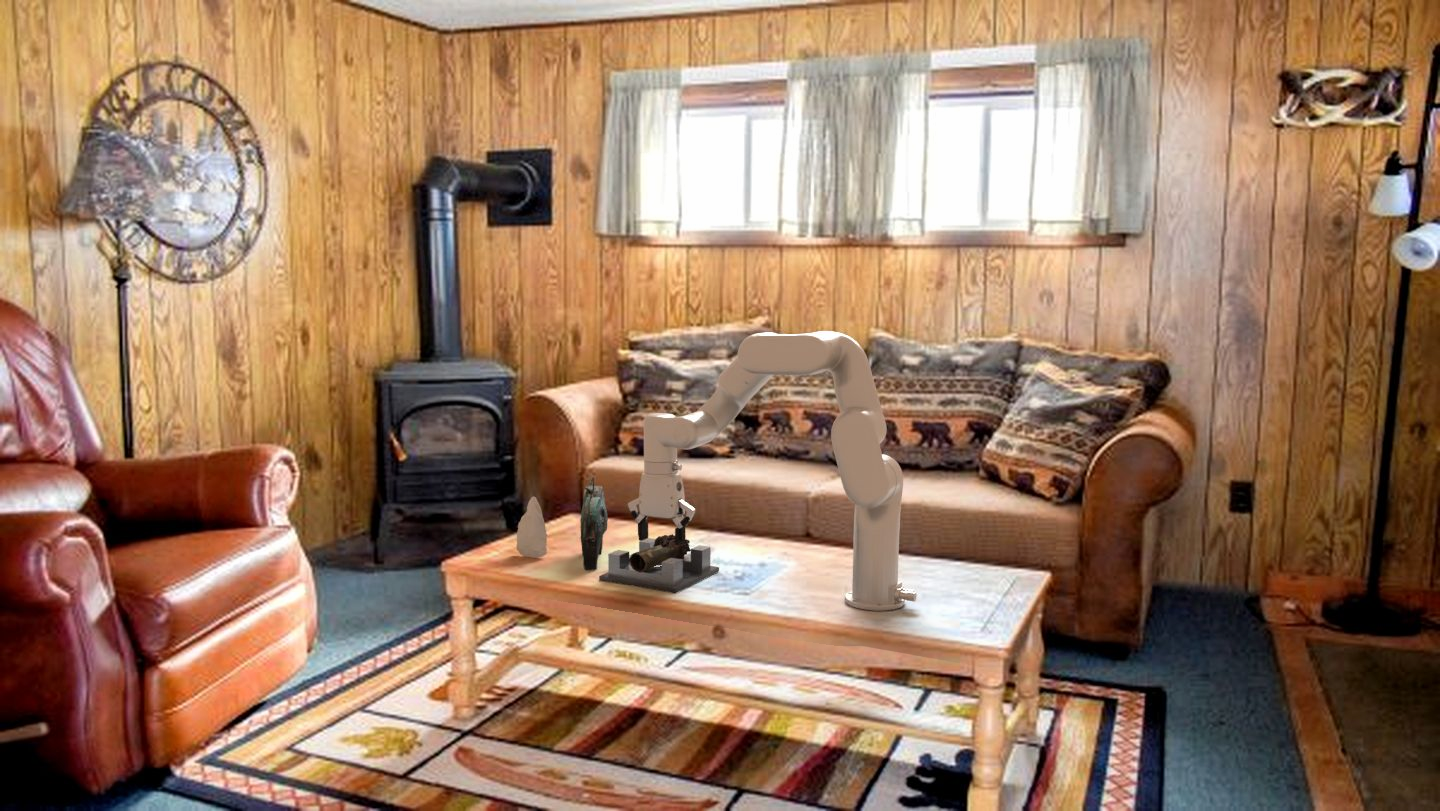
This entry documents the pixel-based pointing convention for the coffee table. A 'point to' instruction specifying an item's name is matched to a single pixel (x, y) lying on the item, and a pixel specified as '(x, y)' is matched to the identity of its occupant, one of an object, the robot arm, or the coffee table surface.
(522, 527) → the stone tool
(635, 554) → the metal pipe
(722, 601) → the coffee table surface
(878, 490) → the robot arm
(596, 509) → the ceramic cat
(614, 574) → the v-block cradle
